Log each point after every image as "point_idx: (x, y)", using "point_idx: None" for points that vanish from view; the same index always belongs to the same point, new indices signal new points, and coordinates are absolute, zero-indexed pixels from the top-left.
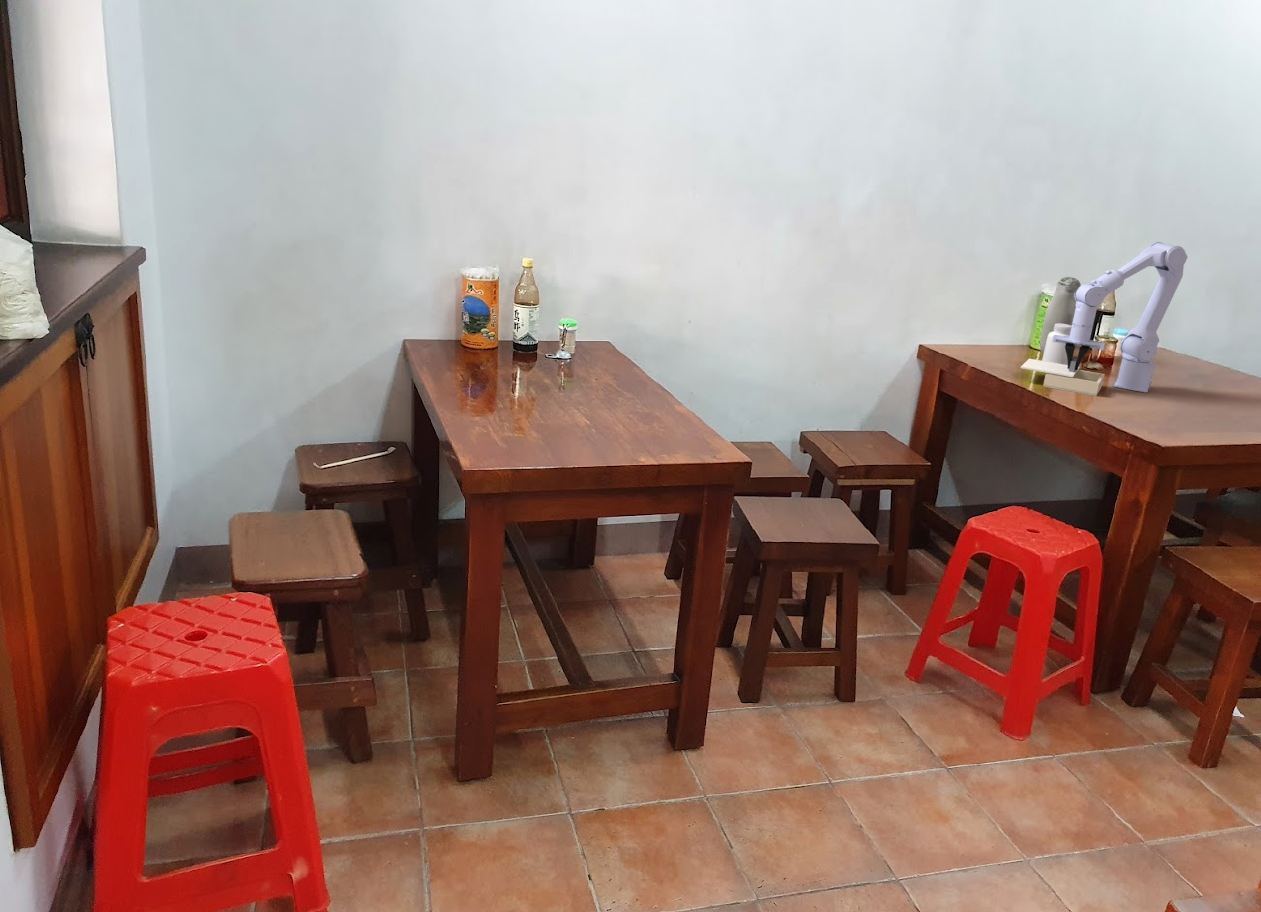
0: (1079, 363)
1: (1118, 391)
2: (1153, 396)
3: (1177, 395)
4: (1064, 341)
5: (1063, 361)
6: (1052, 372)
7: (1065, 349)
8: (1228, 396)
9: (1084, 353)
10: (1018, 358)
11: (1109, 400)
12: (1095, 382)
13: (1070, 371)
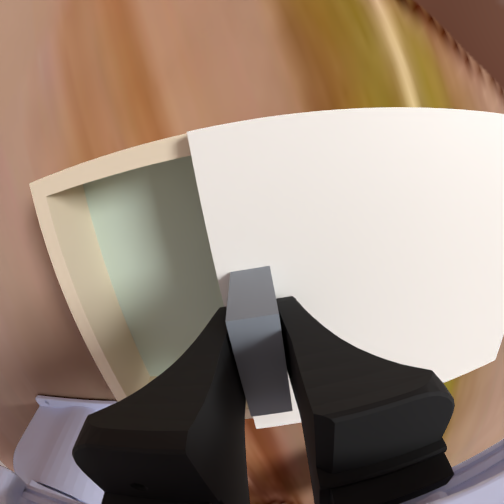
0: (197, 337)
1: (75, 355)
2: (10, 370)
3: (13, 417)
4: (471, 482)
5: None
6: (360, 108)
7: (418, 368)
8: (5, 454)
9: (124, 403)
10: (454, 444)
11: (18, 153)
12: (46, 177)
13: (256, 268)
